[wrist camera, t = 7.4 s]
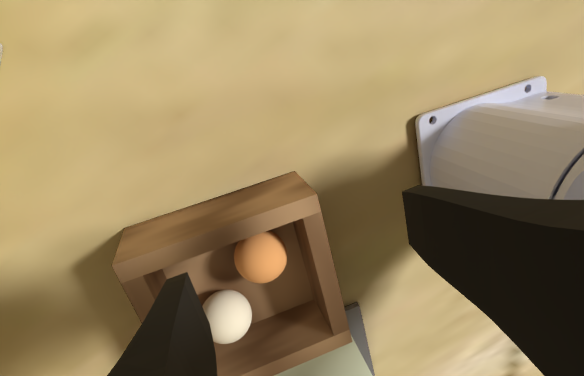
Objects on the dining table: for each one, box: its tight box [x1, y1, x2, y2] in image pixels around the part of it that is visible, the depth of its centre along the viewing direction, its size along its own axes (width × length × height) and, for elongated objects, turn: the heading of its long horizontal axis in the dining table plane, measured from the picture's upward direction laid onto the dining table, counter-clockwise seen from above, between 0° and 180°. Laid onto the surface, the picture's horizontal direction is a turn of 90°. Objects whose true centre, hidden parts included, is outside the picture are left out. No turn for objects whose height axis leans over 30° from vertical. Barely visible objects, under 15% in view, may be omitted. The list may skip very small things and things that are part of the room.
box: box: [112, 171, 352, 376], centre depth 21 cm, size 10×10×4 cm
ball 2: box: [234, 231, 287, 283], centre depth 21 cm, size 3×3×3 cm
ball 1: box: [202, 290, 252, 344], centre depth 22 cm, size 3×3×3 cm
